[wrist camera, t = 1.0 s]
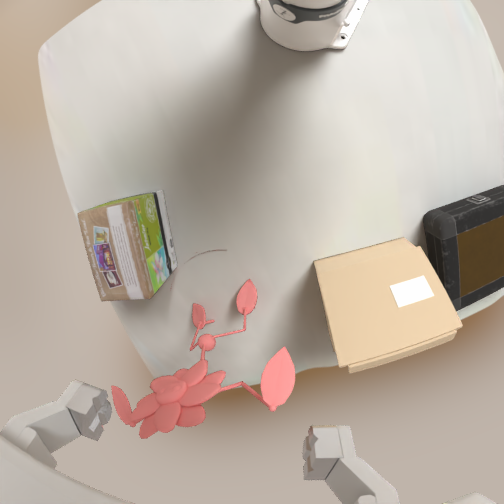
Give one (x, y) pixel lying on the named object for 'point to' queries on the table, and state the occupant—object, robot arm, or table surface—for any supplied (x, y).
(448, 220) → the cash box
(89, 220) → the tea box
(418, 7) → the table surface
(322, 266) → the mailer box
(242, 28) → the table surface
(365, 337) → the lid
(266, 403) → the figurine
